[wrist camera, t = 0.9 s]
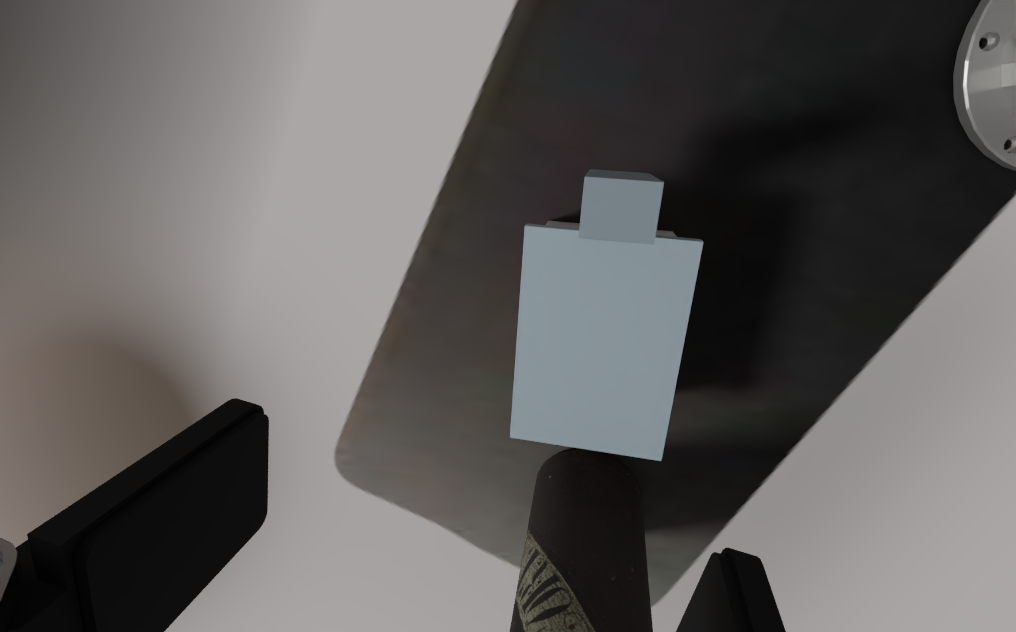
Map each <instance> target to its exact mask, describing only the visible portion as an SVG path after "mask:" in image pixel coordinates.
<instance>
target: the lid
mask: <svg viewBox="0 0 1016 632" xmlns="http://www.w3.org/2000/svg"><path fill="white" fill-rule="evenodd" d="M663 186H664V182H663V181H661V180H659V179H658V178H656V177H654V176H653V175H651V174H649V173H636V172H622V171H608V170H593V169H590V170H589V171H588V173H587V174H586V176H585V179H584V189H583V198H582V207H581V217H580V226H579V228H570V227H558V226H547V225H536V224H526V225H525V231H524V245H523V259H522V274H521V288H520V302H519V316H518V330H517V344H516V358H515V372H514V387H513V401H512V415H511V429H510V438H517V439H523V440H529V441H536V442H542V443H548V444H555V445H561V446H568V447H574V448H580V449H587V450H593V451H599V452H606V453H612V454H619V455H625V456H631V457H638V458H644V459H650V460H657V461H661V460H662V455H663V450H664V445H665V440H666V434H667V429H668V424H669V419H670V414H671V408H672V403H673V398H674V393H675V388H676V382H677V377H678V372H679V367H680V362H681V356H682V351H683V346H684V341H685V336H686V330H687V325H688V320H689V315H690V310H691V304H692V299H693V294H694V289H695V283H696V278H697V273H698V268H699V263H700V257H701V252H702V247H703V241H702V240H701V239H694V238H682V237H671V236H660V235H656V230H657V223H658V217H659V211H660V205H661V198H662V192H663Z"/></svg>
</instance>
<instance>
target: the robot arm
mask: <svg viewBox="0 0 1016 632" xmlns="http://www.w3.org/2000/svg"><path fill="white" fill-rule="evenodd" d="M979 41H981V42H982V45H981V47H979ZM953 84H954V102H955V105H956V109H957V113H958V117H959V121H960V123H961V124H962V126H963V128H964V130H965V132H966V134H967V135H968V137H969V139H970V140H971V141H972V142H973V143H974V144H975V145H976V147H977V148H978V149H979V150H980V151H981V152H982V153H983V154H984V155H986V156H987V157H989V158H990V159H992V160H993V161H995V162H996V163H998V164H999V165H1001V166H1003V167H1006V168H1008V169H1011V170H1014V171H1016V0H981V2H980V3H979V5H978V7H977V9H976V10H975V12H974V14H973V16H972V17H971V19H970V21H969V23H968V24H967V27H966V30H965V32H964V35H963V38H962V40H961V43H960V46H959V49H958V52H957V58H956V63H955V69H954V74H953ZM1005 142H1006V145H1005V147H1004V144H1005ZM268 430H269V420H268V417H267V415H265V414H264V411H263V408H262V407H261V406H259V405H256V404H253V403H250V402H246V401H243V400H240V399H231V400H229V401H227V402H226V403H224V404H223V405H221V406H220V407H218V408H217V409H215V410H214V411H212V412H211V413H209V414H208V415H206V416H205V417H203V418H202V419H200V420H199V421H197V422H196V423H194V424H193V425H191V426H190V427H188V428H187V429H185V430H184V431H182V432H181V433H179V434H177V435H176V436H174V437H173V438H172V439H170V440H168V441H167V442H166V443H164V444H162V445H161V446H160V447H158V448H156V449H155V450H154V451H152V452H150V453H149V454H147V455H146V456H144V457H143V458H141V459H140V460H139V461H137V462H135V463H134V464H132V465H131V466H129V467H128V468H126V469H125V470H123V471H122V472H120V473H119V474H117V475H116V476H114V477H113V478H111V479H110V480H108V481H107V482H105V483H104V484H102V485H101V486H99V487H98V488H96V489H95V490H93V491H92V492H90V493H89V494H87V495H86V496H84V497H83V498H81V499H80V500H78V501H77V502H75V503H74V504H72V505H71V506H69V507H68V508H66V509H65V510H63V511H61V512H60V513H58V514H57V515H55V516H54V517H53V518H51V519H49V520H48V521H46V522H45V523H43V524H42V525H40V526H39V527H37V528H36V529H34V530H33V531H32V532H30V533H28V534H27V536H28V540H27V541H25V542H24V543H22V544H21V545H19V546H18V547H16V548H15V547H14V545H13V544H12V543H11V542H8V541H6V540H4V539H2V538H0V632H164V631H165V630H166V629H167V628H168V627H169V625H170V624H172V623H173V621H174V620H175V619H176V618H177V617H178V616H179V615H180V614H181V613H182V612H183V611H184V610H185V609H186V607H187V606H188V605H189V604H190V603H191V602H192V601H193V600H194V599H195V598H196V597H197V595H199V593H200V592H201V591H202V590H203V589H204V588H205V587H206V586H207V585H208V584H209V583H210V582H211V580H212V579H213V578H214V577H215V576H216V575H217V574H218V573H219V572H220V571H221V570H222V568H224V567H225V565H226V564H227V563H228V562H229V561H230V560H231V559H232V558H233V557H234V556H235V554H236V553H237V552H238V551H239V550H240V549H241V548H242V547H243V546H244V545H245V544H246V543H247V542H248V541H249V540H250V539H251V537H252V536H253V535H254V534H255V533H256V532H257V531H258V530H259V529H260V527H261V526H262V524H263V522H264V520H265V518H266V515H267V501H268V500H267V498H268V436H269V435H268V434H269V432H268ZM676 632H786V631H785V628H784V625H783V622H782V620H781V617H780V614H779V611H778V608H777V605H776V602H775V599H774V596H773V593H772V590H771V587H770V584H769V581H768V579H767V575H766V572H765V569H764V567H763V564H762V562H761V560H760V558H758V557H757V556H753V555H750V554H747V553H744V552H740V551H737V550H734V549H731V548H725V549H724V550H723V551H722V553H721V554H719V553H716V552H714V553H713V554H712V555H711V557H710V559H709V561H708V563H707V565H706V567H705V569H704V572H703V574H702V576H701V578H700V581H699V583H698V585H697V587H696V589H695V591H694V593H693V596H692V598H691V600H690V602H689V604H688V607H687V609H686V611H685V613H684V615H683V617H682V620H681V622H680V624H679V626H678V628H677V631H676Z"/></svg>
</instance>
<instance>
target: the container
mask: <svg viewBox="0 0 1016 632" xmlns="http://www.w3.org/2000/svg"><path fill="white" fill-rule="evenodd" d="M510 632H653V629H652V618H651V606H650V594H649V584H648V572H647V559H646V546H645V531H644V517H643V506H642V498H641V492H640V489H639V486H638V484H637V482H636V480H635V478H634V477H633V475H632V474H631V473H630V471H629V470H628V469H627V468H626V467H624V466H623V465H622V464H621V463H619V462H618V461H616V460H615V459H613V458H612V457H610V456H608V455H605V454H602V453H600V452H596V451H591V450H582V449H576V450H568V451H564V452H561V453H558V454H556V455H554V456H552V457H551V458H549V459H548V460H547V461H546V462H545V463H544V464H543V465H542V467H541V469H540V471H539V472H538V476H537V480H536V485H535V490H534V496H533V501H532V506H531V513H530V518H529V524H528V530H527V535H526V540H525V546H524V553H523V558H522V564H521V570H520V575H519V581H518V586H517V592H516V599H515V604H514V610H513V616H512V622H511V627H510Z"/></svg>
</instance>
